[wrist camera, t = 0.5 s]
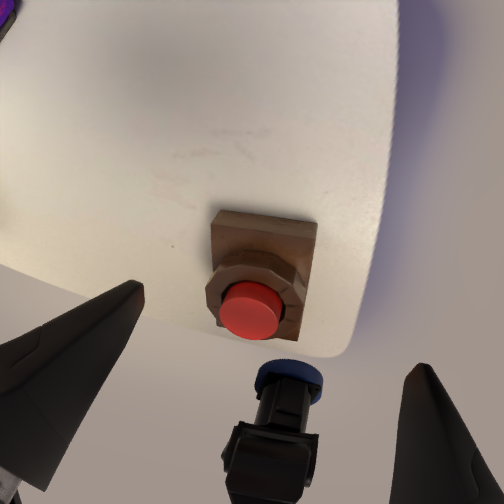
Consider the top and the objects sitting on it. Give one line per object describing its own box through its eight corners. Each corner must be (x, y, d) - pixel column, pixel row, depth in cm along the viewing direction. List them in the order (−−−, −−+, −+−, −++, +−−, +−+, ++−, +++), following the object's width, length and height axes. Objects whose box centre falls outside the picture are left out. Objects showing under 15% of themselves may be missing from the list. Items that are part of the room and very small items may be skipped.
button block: (300, 323, 28) (294, 358, 25) (223, 309, 29) (209, 341, 26) (317, 223, 22) (313, 255, 19) (220, 209, 23) (200, 237, 20)
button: (279, 327, 23) (275, 344, 22) (227, 317, 24) (220, 333, 23) (284, 286, 21) (280, 304, 20) (226, 275, 22) (217, 292, 20)
